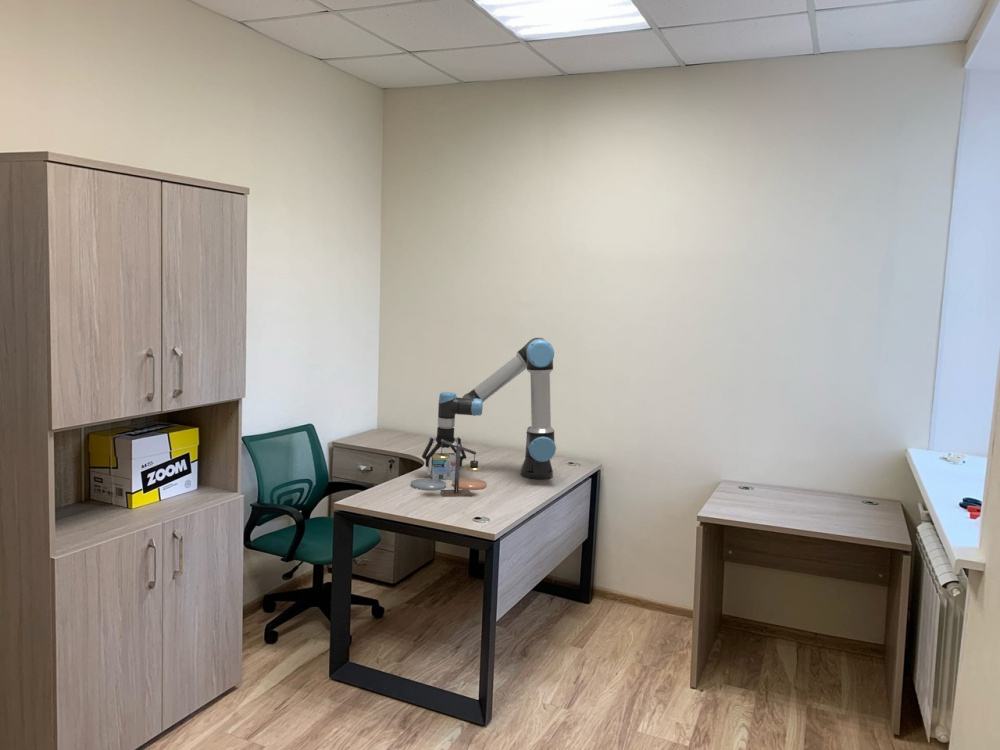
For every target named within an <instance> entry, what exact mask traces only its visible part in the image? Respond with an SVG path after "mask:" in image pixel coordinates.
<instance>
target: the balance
mask: <svg viewBox="0 0 1000 750" xmlns="http://www.w3.org/2000/svg"><path fill="white" fill-rule="evenodd" d="M441 442H442V443H445V444H448V445H450V446H453V447H454V448H455V449H456V454H455V455H456V464H455V482H454V486H453V489H441V490H439V493H440V495H441V496H442V497H445V498H446V497H447V498H448V497H450V498H451V497H472V495H473V493H472V492H471V490H469V489H467V490H465V489H459V479H460V468H461V467H460V456H461V450H464V452H466V453H470V454H472V455H473V460H470V465H466V466H465V470H466V471H470V472H482V471H483V466H479V460H475V459H476V454H477V452H476V451H474V450H472V449H469V448H466V447H464V446H463V445H462V444H461V445H462V446H461V445H460V444H457V443H451V442H448V441H445V440H443V439H442V440H441ZM440 448H441V447H440ZM440 451H441V452H440V453H441V454H434V455H433V458H435V459H441V460H445V459H450V455H447V454H442V453H443V448H441V449H440Z"/></svg>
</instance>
